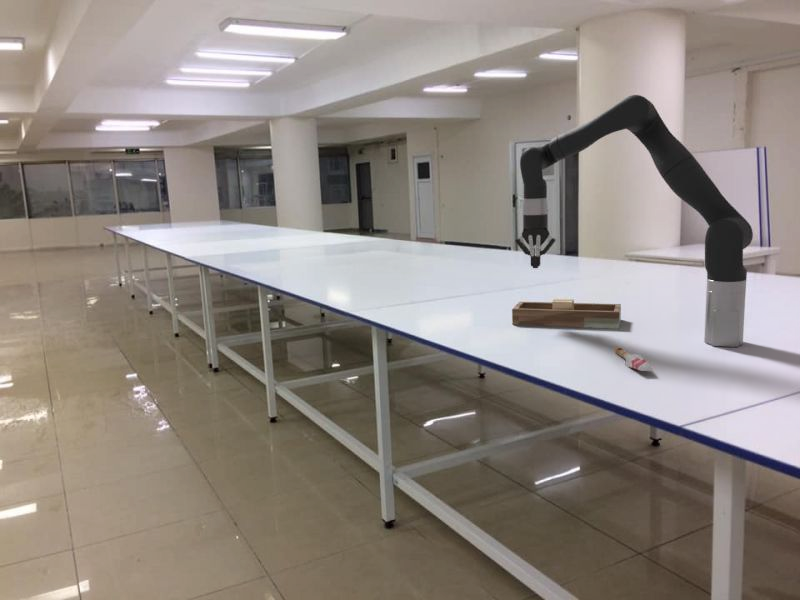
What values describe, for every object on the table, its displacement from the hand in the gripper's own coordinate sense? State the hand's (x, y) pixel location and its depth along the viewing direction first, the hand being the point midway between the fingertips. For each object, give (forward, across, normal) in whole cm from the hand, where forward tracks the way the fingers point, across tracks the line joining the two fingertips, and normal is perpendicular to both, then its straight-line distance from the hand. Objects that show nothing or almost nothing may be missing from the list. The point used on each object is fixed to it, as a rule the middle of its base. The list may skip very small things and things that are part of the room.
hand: (535, 267), depth 200 cm
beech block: (+14, +8, 0) cm, 17 cm away
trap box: (+17, +10, 0) cm, 20 cm away
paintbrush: (+18, +30, -42) cm, 54 cm away
